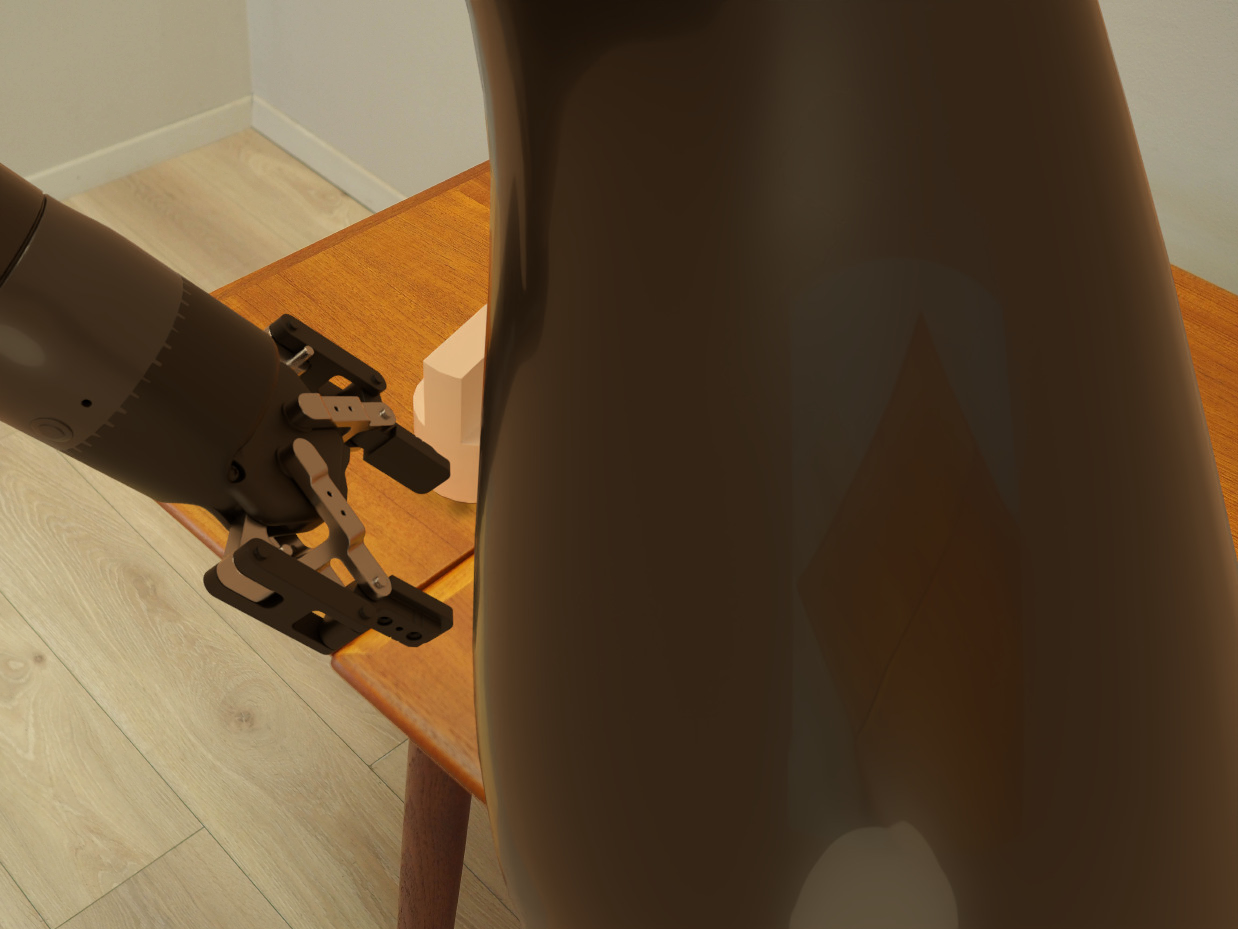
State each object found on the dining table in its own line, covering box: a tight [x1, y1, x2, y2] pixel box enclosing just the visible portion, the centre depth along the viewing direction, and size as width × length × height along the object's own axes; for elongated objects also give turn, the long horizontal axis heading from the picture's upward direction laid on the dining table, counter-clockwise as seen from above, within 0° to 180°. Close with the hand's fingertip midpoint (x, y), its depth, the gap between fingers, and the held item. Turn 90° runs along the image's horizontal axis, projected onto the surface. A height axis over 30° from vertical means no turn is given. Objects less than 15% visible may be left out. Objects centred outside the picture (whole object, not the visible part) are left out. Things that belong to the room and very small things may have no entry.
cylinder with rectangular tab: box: [412, 303, 487, 504], centre depth 75 cm, size 9×9×12 cm
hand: (438, 549), depth 47 cm, fingers open, 8 cm apart
